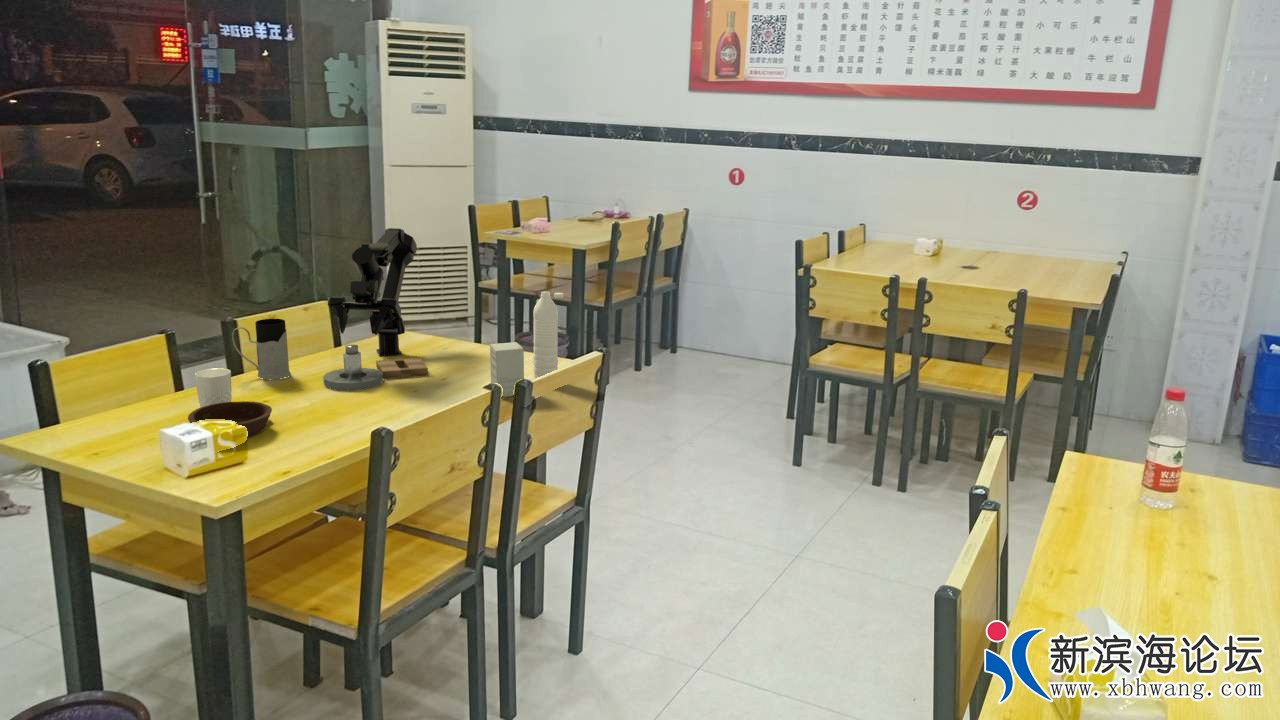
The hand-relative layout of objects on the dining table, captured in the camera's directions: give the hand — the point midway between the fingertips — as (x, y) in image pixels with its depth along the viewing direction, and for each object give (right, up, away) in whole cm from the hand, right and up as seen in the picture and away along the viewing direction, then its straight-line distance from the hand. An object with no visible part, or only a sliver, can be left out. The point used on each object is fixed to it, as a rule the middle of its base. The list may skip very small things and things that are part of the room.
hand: (358, 333), depth 274 cm
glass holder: (-26, -12, +1) cm, 29 cm away
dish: (-17, -24, -42) cm, 51 cm away
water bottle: (+51, -14, +1) cm, 53 cm away
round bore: (-1, -13, -2) cm, 13 cm away
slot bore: (+10, -10, +9) cm, 17 cm away
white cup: (-26, -20, -29) cm, 44 cm away
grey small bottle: (-1, -13, -2) cm, 13 cm away
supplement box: (+41, -16, -8) cm, 45 cm away
